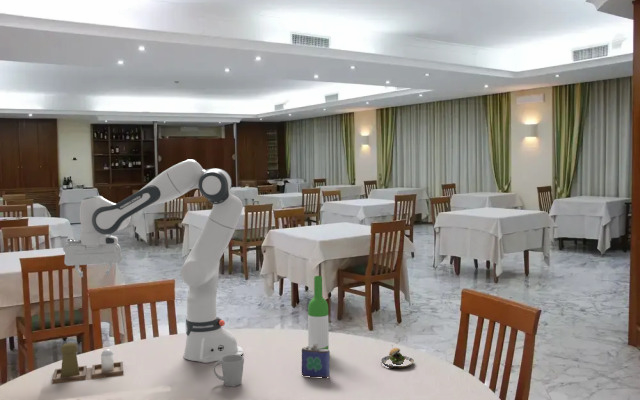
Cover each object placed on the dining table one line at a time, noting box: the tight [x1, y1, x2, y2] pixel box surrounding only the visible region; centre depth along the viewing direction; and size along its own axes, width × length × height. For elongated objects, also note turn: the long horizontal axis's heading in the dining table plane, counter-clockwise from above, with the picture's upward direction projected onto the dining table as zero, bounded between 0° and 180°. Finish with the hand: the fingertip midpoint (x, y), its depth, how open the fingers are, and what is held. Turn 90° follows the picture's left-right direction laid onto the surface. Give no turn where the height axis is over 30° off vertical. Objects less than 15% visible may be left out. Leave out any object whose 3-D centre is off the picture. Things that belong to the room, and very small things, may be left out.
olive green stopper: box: [60, 342, 80, 377], centre depth 199 cm, size 6×6×11 cm
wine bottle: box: [307, 275, 330, 351], centre depth 224 cm, size 8×8×30 cm
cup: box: [213, 355, 245, 387], centre depth 195 cm, size 8×10×8 cm
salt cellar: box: [100, 348, 115, 373], centre depth 203 cm, size 4×4×8 cm
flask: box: [301, 344, 331, 379], centre depth 201 cm, size 10×3×12 cm, turn 74°
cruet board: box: [51, 361, 125, 385], centre depth 201 cm, size 22×12×3 cm, turn 110°
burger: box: [381, 345, 414, 369], centre depth 213 cm, size 12×12×8 cm
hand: (94, 275), depth 221 cm, fingers open, 8 cm apart
